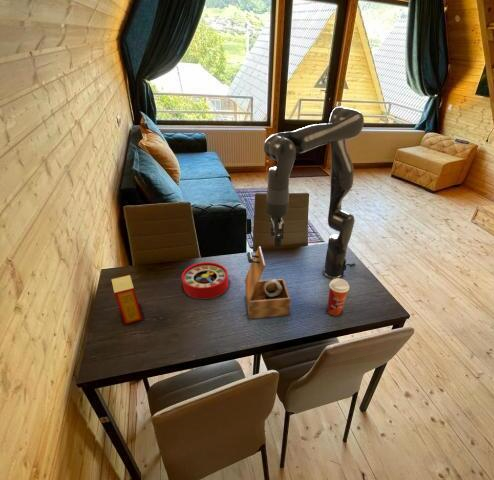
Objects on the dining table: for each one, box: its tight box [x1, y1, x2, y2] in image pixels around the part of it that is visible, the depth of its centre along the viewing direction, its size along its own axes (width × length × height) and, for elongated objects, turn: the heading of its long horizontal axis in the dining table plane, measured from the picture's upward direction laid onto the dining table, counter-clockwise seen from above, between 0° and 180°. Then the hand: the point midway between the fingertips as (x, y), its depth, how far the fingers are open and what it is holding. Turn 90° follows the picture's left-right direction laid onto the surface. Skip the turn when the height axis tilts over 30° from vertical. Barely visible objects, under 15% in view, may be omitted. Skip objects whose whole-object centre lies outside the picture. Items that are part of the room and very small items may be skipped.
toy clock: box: [181, 261, 229, 300], centre depth 143 cm, size 20×6×20 cm
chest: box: [245, 278, 291, 320], centre depth 133 cm, size 17×14×9 cm
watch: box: [263, 278, 282, 300], centre depth 134 cm, size 6×8×11 cm
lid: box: [244, 245, 266, 302], centre depth 123 cm, size 18×14×5 cm
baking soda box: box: [110, 274, 144, 325], centre depth 122 cm, size 10×6×16 cm
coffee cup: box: [327, 277, 350, 317], centre depth 132 cm, size 8×8×15 cm
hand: (275, 240), depth 117 cm, fingers open, 8 cm apart
